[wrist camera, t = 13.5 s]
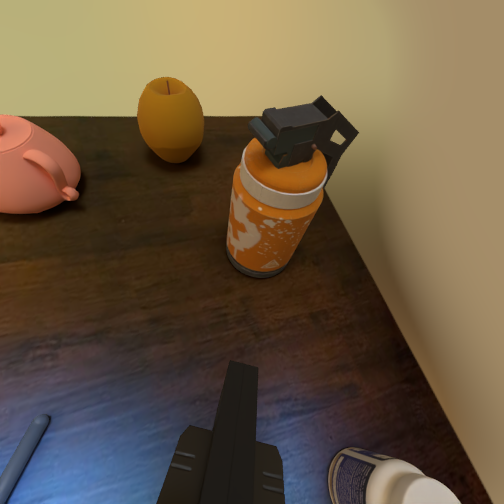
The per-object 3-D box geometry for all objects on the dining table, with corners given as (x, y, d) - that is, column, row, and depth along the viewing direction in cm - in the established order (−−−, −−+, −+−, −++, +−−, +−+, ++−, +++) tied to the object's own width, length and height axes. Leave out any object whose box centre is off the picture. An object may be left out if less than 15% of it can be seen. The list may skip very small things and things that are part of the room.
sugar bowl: (40, 150, 39) (-8, 77, 30) (116, 185, 38) (88, 119, 29) (-40, 200, 33) (-130, 126, 24) (48, 244, 31) (-14, 183, 23)
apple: (214, 169, 42) (215, 97, 32) (156, 181, 39) (137, 105, 29) (194, 134, 46) (190, 61, 37) (140, 143, 43) (120, 65, 33)
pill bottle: (351, 546, 21) (446, 639, 13) (314, 468, 23) (373, 503, 15) (398, 501, 23) (506, 556, 15) (359, 433, 25) (434, 447, 17)
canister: (214, 237, 35) (220, 83, 18) (279, 213, 39) (331, 69, 22) (245, 290, 32) (286, 160, 15) (312, 259, 36) (404, 128, 19)
